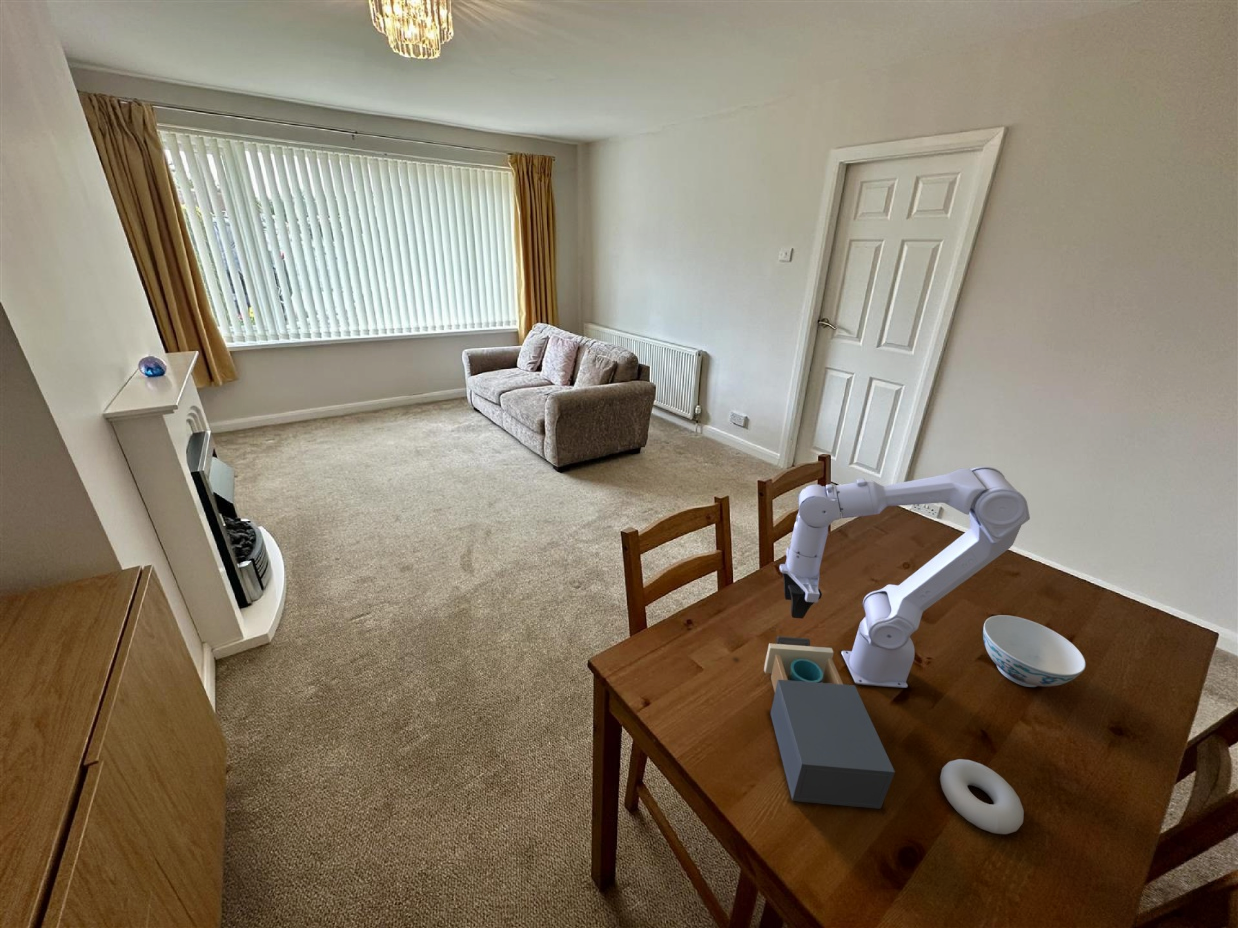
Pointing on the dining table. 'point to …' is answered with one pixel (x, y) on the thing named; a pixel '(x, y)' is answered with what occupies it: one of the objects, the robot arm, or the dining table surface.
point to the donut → (988, 817)
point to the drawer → (785, 654)
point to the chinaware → (1031, 652)
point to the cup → (805, 671)
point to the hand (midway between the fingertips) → (793, 607)
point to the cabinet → (829, 745)
